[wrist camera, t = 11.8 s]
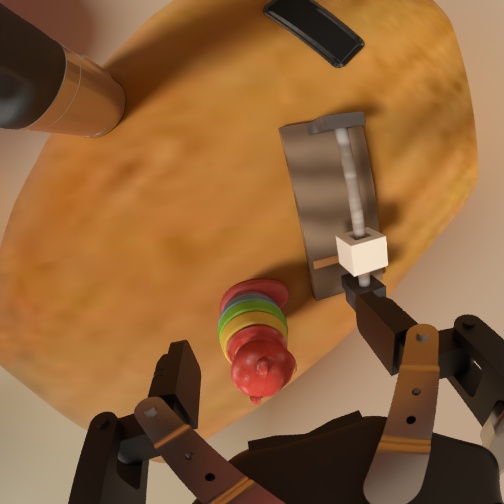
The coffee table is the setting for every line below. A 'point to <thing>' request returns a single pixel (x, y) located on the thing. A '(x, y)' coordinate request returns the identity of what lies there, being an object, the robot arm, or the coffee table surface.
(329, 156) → the grey slider rail toy
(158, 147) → the coffee table surface
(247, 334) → the stacking bear
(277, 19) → the phone
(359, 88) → the coffee table surface
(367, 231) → the sleeve
